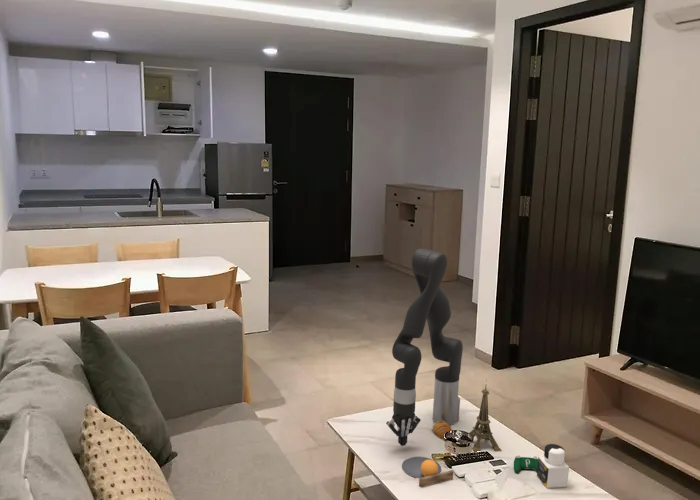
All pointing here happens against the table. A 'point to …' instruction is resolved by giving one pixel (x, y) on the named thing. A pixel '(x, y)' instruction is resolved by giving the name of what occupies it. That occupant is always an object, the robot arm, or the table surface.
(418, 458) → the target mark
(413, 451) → the table surface
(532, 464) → the gaming controller
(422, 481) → the strip
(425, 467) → the ball
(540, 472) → the medicine bottle
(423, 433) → the table surface
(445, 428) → the pastry
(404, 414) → the robot arm
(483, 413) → the eiffel tower
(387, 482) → the table surface
